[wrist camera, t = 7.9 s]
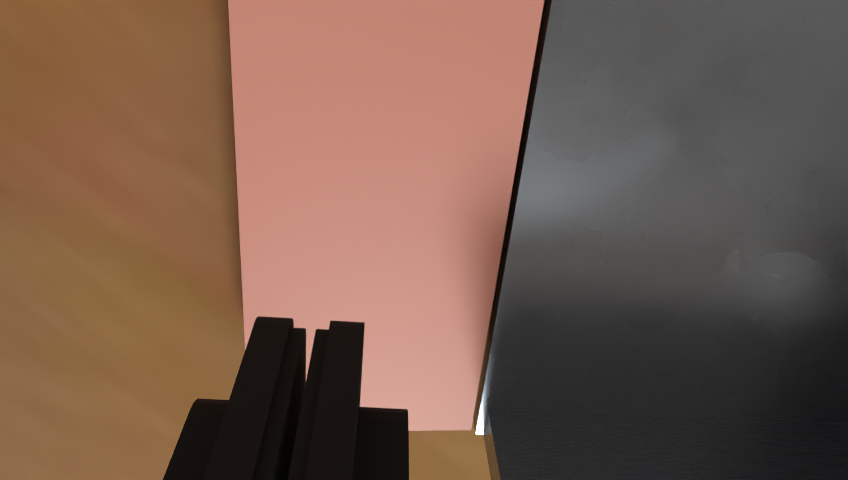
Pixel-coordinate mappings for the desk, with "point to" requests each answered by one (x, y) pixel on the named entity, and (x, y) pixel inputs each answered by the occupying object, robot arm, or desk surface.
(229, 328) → the desk surface
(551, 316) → the box
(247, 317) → the tailgate
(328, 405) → the robot arm
